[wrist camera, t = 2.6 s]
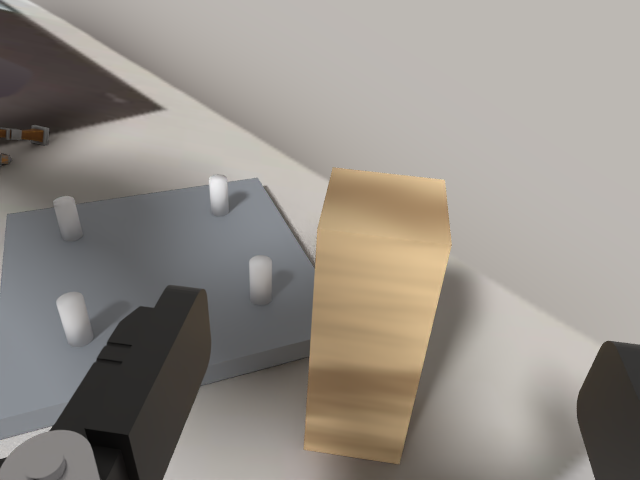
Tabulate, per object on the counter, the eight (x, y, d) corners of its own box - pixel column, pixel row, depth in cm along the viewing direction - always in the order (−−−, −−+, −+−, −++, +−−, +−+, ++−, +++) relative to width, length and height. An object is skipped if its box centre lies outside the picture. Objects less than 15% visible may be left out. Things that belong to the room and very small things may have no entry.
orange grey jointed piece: (-38, 170, 49) (-35, 118, 48) (31, 167, 56) (34, 122, 55) (-21, 174, 48) (-19, 122, 47) (46, 170, 56) (49, 126, 55)
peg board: (-3, 440, 28) (-31, 382, 26) (12, 230, 43) (-5, 180, 40) (350, 345, 35) (356, 291, 32) (257, 192, 50) (257, 146, 47)
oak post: (399, 464, 28) (451, 244, 20) (303, 449, 29) (317, 228, 21) (400, 388, 32) (444, 180, 24) (316, 376, 33) (332, 167, 25)
